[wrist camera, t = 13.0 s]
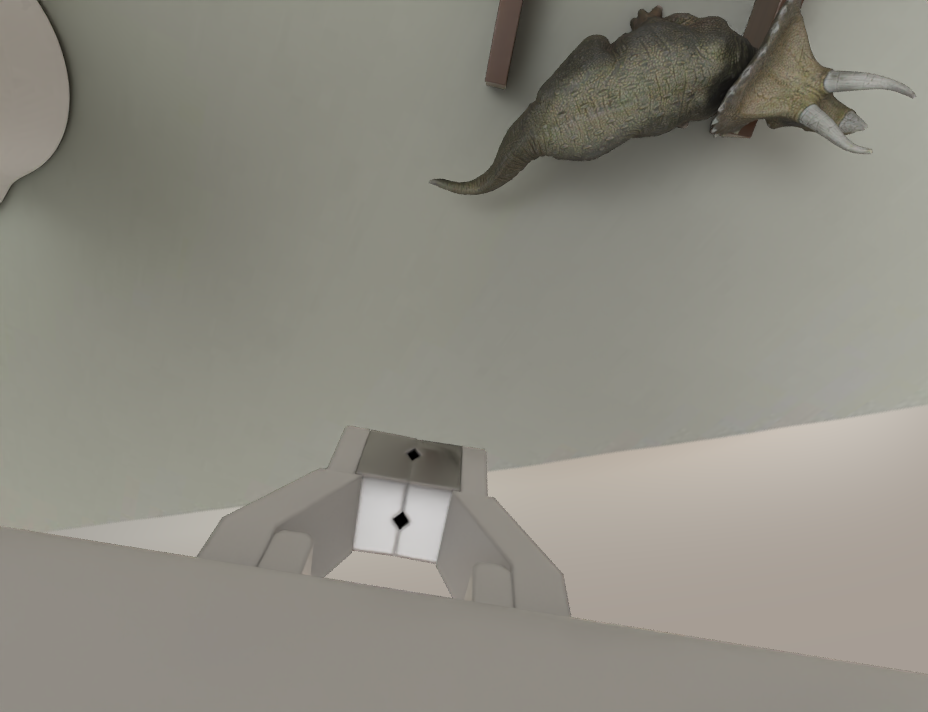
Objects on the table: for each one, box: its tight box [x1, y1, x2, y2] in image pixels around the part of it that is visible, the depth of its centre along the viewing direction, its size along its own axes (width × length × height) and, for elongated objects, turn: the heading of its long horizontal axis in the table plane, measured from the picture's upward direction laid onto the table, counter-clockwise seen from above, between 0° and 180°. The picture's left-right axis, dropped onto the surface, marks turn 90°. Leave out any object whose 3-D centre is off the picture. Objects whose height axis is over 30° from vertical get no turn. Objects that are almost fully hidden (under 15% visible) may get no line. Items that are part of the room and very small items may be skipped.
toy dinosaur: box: [429, 0, 916, 195], centre depth 28 cm, size 22×8×11 cm, turn 99°
